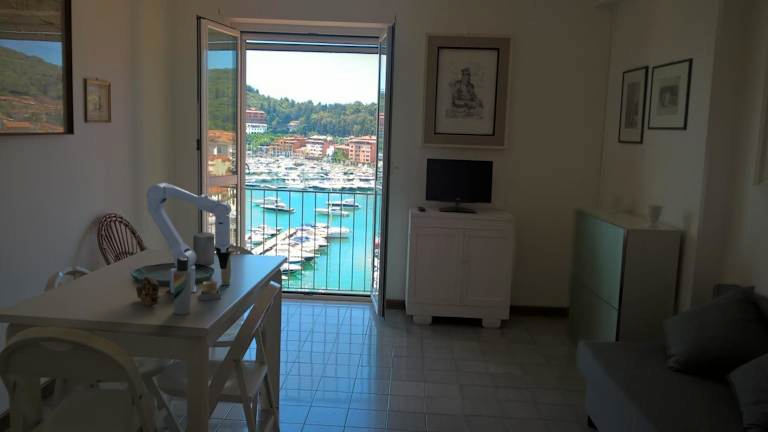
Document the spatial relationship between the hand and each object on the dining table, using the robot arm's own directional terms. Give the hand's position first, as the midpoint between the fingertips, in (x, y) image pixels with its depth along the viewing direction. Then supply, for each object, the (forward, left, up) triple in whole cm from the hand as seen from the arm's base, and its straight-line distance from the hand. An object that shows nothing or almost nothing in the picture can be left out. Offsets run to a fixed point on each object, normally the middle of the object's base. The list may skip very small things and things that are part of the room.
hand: (222, 266), depth 243 cm
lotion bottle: (-15, -25, -11) cm, 31 cm away
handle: (+2, +11, -11) cm, 16 cm away
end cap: (-5, -7, -10) cm, 14 cm away
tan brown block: (-5, -7, -11) cm, 14 cm away
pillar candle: (-6, +51, -11) cm, 53 cm away
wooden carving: (-27, -14, -11) cm, 32 cm away
